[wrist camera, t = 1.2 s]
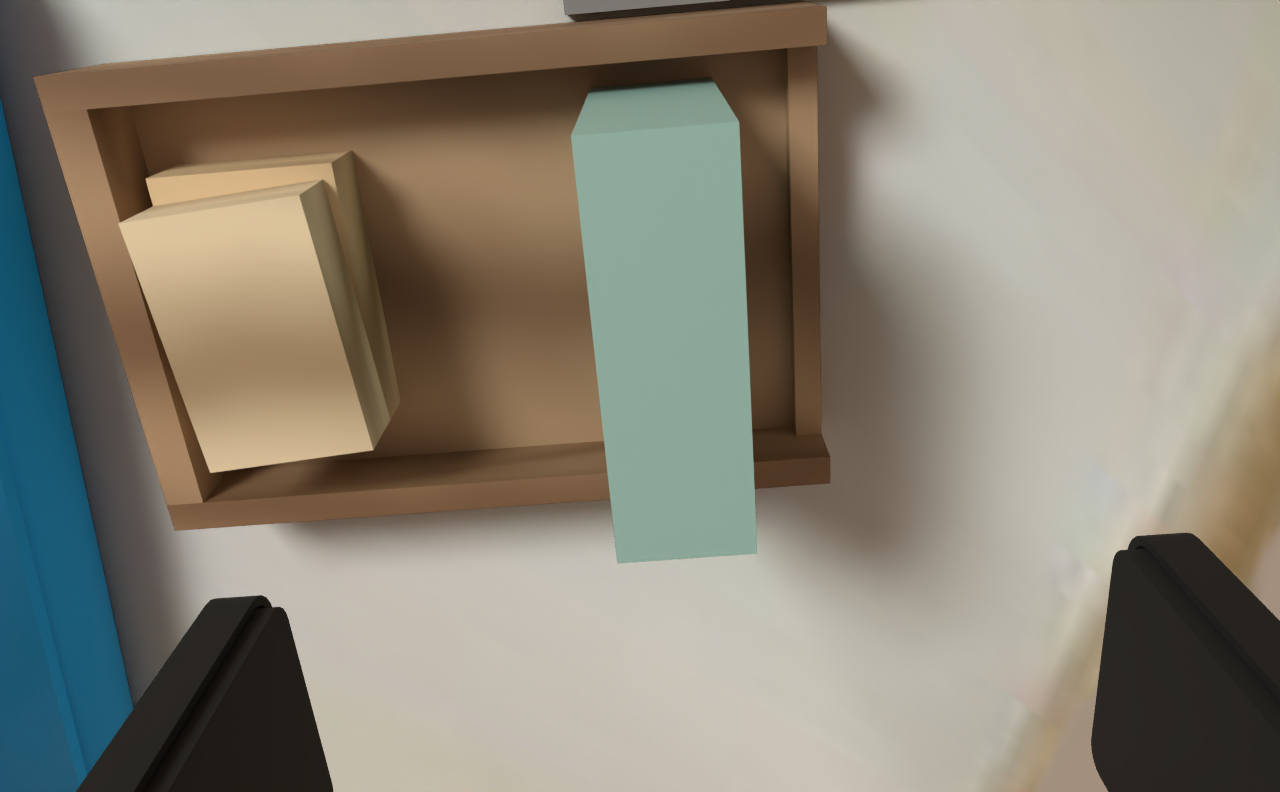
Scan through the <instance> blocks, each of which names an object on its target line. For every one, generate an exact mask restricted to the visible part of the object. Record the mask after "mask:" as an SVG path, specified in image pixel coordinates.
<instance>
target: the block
mask: <svg viewBox="0 0 1280 792" xmlns="http://www.w3.org/2000/svg"><path fill="white" fill-rule="evenodd" d="M571 142H572V151H573V160H574V169H575V178H576V188H577V197H578V206H579V215H580V224H581V234H582V243H583V252H584V261H585V270H586V280H587V289H588V298H589V307H590V316H591V326H592V335H593V344H594V353H595V362H596V372H597V381H598V390H599V399H600V408H601V418H602V427H603V436H604V445H605V455H606V464H607V473H608V482H609V491H610V501H611V510H612V519H613V528H614V537H615V547H616V556H617V563H630V562H644V561H658V560H672V559H687V558H701V557H715V556H729V555H744V554H757V533H756V510H755V486H754V462H753V439H752V415H751V391H750V367H749V344H748V320H747V296H746V273H745V249H744V225H743V202H742V178H741V154H740V130H739V121H738V119H737V117H736V116H735V114H734V113H733V111H732V109H731V108H730V106H729V105H728V103H727V101H726V100H725V98H724V97H723V95H722V93H721V92H720V90H719V89H718V87H717V85H716V84H715V82H714V81H713V79H712V77H711V78H700V79H688V80H677V81H665V82H654V83H642V84H631V85H619V86H608V87H596V88H590V90H589V93H588V95H587V98H586V100H585V103H584V105H583V108H582V110H581V112H580V115H579V117H578V120H577V122H576V125H575V127H574V130H573V132H572V134H571Z"/></svg>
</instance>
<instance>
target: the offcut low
mask: <svg viewBox="0 0 1280 792" xmlns="http://www.w3.org/2000/svg"><path fill="white" fill-rule="evenodd" d="M321 179H323V181H324V185H325V189H326V192H327V196H328V199H329V203H330V206H331V210H332V214H333V217H334V221H335V224H336V228H337V231H338V235H339V239H340V242H341V246H342V249H343V253H344V256H345V260H346V263H347V267H348V271H349V274H350V278H351V281H352V285H353V288H354V292H355V296H356V299H357V303H358V306H359V310H360V313H361V317H362V321H363V324H364V328H365V331H366V335H367V338H368V342H369V346H370V349H371V353H372V356H373V360H374V363H375V367H376V370H377V374H378V378H379V381H380V385H381V388H382V392H383V395H384V399H385V403H386V406H387V410H388V413H389V417H390V420H391V418H392V417H393V415H394V413H395V411H396V409H397V407H398V406H399V404H400V402H401V400H400V395H399V389H398V384H397V379H396V374H395V369H394V364H393V359H392V354H391V349H390V344H389V338H388V333H387V328H386V323H385V318H384V313H383V308H382V303H381V298H380V293H379V287H378V282H377V277H376V272H375V267H374V262H373V257H372V252H371V247H370V242H369V236H368V231H367V226H366V221H365V216H364V211H363V206H362V201H361V196H360V191H359V185H358V180H357V175H356V170H355V165H354V160H353V155H352V150H345V151H333V152H321V153H309V154H298V155H286V156H274V157H263V158H251V159H239V160H227V161H216V162H204V163H192V164H180V165H176V166H174V167H171V168H169V169H167V170H164V171H162V172H160V173H157V174H155V175H153V176H150V177H148V178H146V183H147V186H148V190H149V194H150V197H151V201H152V204H153V206H156V205H162V204H168V203H175V202H181V201H187V200H194V199H200V198H206V197H213V196H219V195H225V194H232V193H238V192H244V191H251V190H257V189H263V188H270V187H276V186H282V185H289V184H295V183H301V182H308V181H314V180H321ZM389 422H390V421H389ZM388 424H389V423H388ZM387 426H388V425H387ZM387 426H386V427H387ZM385 429H386V428H385Z"/></svg>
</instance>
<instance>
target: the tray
mask: <svg viewBox="0 0 1280 792" xmlns="http://www.w3.org/2000/svg"><path fill="white" fill-rule="evenodd" d="M817 45H827V7H826V6H822V5H818V4H813V3H809V2H795V3H783V4H772V5H761V6H750V7H738V8H727V9H716V10H705V11H693V12H682V13H671V14H660V15H649V16H637V17H626V18H615V19H604V20H592V21H581V22H570V23H559V24H547V25H536V26H525V27H514V28H502V29H491V30H480V31H469V32H457V33H446V34H435V35H424V36H412V37H401V38H390V39H379V40H368V41H356V42H345V43H334V44H323V45H311V46H300V47H289V48H278V49H266V50H255V51H244V52H233V53H221V54H210V55H199V56H188V57H176V58H165V59H154V60H143V61H131V62H120V63H109V64H100V65H95V66H90V67H84V68H79V69H73V70H68V71H62V72H57V73H52V74H46V75H41V76H35V77H33V79H34V82H35V85H36V89H37V92H38V95H39V98H40V101H41V105H42V108H43V111H44V114H45V117H46V121H47V124H48V127H49V130H50V133H51V136H52V140H53V143H54V146H55V149H56V152H57V156H58V159H59V162H60V165H61V168H62V172H63V175H64V178H65V181H66V184H67V188H68V191H69V194H70V197H71V200H72V204H73V207H74V210H75V213H76V216H77V220H78V223H79V226H80V229H81V232H82V235H83V239H84V242H85V245H86V248H87V251H88V255H89V258H90V261H91V264H92V267H93V271H94V274H95V277H96V280H97V283H98V287H99V290H100V293H101V296H102V299H103V303H104V306H105V309H106V312H107V315H108V319H109V322H110V325H111V328H112V331H113V334H114V338H115V341H116V344H117V347H118V350H119V354H120V357H121V360H122V363H123V366H124V370H125V373H126V376H127V379H128V382H129V386H130V389H131V392H132V395H133V398H134V402H135V405H136V408H137V411H138V414H139V417H140V421H141V424H142V427H143V430H144V433H145V437H146V440H147V443H148V446H149V449H150V453H151V456H152V459H153V462H154V465H155V469H156V472H157V475H158V478H159V481H160V485H161V488H162V491H163V494H164V497H165V501H166V504H167V507H168V510H169V513H170V516H171V520H172V523H173V526H174V529H175V531H177V530H191V529H205V528H219V527H233V526H246V525H260V524H274V523H288V522H302V521H315V520H329V519H343V518H357V517H371V516H384V515H398V514H412V513H426V512H440V511H453V510H467V509H481V508H495V507H509V506H522V505H536V504H550V503H564V502H578V501H591V500H605V499H610V491H609V482H608V473H607V464H606V455H605V445H604V436H603V427H602V418H601V408H600V399H599V390H598V381H597V372H596V362H595V353H594V344H593V335H592V326H591V316H590V307H589V298H588V289H587V280H586V270H585V261H584V252H583V243H582V234H581V224H580V215H579V206H578V197H577V188H576V178H575V169H574V160H573V151H572V142H571V134H572V132H573V130H574V127H575V125H576V122H577V120H578V117H579V115H580V112H581V110H582V108H583V105H584V103H585V100H586V98H587V95H588V93H589V90H590V88H596V87H608V86H619V85H631V84H642V83H654V82H665V81H677V80H688V79H700V78H711V77H712V79H713V81H714V82H715V84H716V85H717V87H718V89H719V90H720V92H721V93H722V95H723V97H724V98H725V100H726V101H727V103H728V105H729V106H730V108H731V109H732V111H733V113H734V114H735V116H736V117H737V119H738V121H739V130H740V154H741V178H742V202H743V225H744V249H745V273H746V296H747V320H748V344H749V367H750V391H751V415H752V439H753V462H754V486H755V489H757V488H771V487H785V486H798V485H812V484H826V483H830V455H829V453H828V450H827V448H826V445H825V442H824V440H823V437H822V435H821V366H820V278H819V191H818V103H817ZM345 150H352V155H353V160H354V165H355V170H356V175H357V180H358V185H359V191H360V196H361V201H362V206H363V211H364V216H365V221H366V226H367V231H368V236H369V242H370V247H371V252H372V257H373V262H374V267H375V272H376V277H377V282H378V287H379V293H380V298H381V303H382V308H383V313H384V318H385V323H386V328H387V333H388V338H389V344H390V349H391V354H392V359H393V364H394V369H395V374H396V379H397V384H398V389H399V395H400V400H401V402H400V404H399V406H398V407H397V409H396V411H395V413H394V415H393V417H392V418H391V420H390V422H389V424H388V426H387V427H386V429H385V430H384V432H383V434H382V436H381V437H380V439H379V441H378V443H377V445H376V446H375V448H374V450H372V451H364V452H357V453H350V454H343V455H336V456H329V457H321V458H314V459H307V460H300V461H293V462H286V463H279V464H271V465H264V466H257V467H250V468H243V469H236V470H228V471H221V472H214V473H210V471H209V468H208V466H207V463H206V460H205V458H204V455H203V452H202V449H201V447H200V444H199V441H198V439H197V436H196V433H195V430H194V428H193V425H192V422H191V420H190V417H189V414H188V411H187V409H186V406H185V403H184V401H183V398H182V395H181V392H180V390H179V387H178V384H177V382H176V379H175V376H174V374H173V371H172V368H171V365H170V363H169V360H168V357H167V355H166V352H165V349H164V346H163V344H162V341H161V338H160V336H159V333H158V330H157V327H156V325H155V322H154V319H153V317H152V314H151V311H150V308H149V306H148V303H147V300H146V298H145V295H144V292H143V289H142V287H141V284H140V281H139V279H138V276H137V273H136V270H135V268H134V265H133V262H132V260H131V257H130V254H129V252H128V249H127V246H126V243H125V241H124V238H123V235H122V233H121V230H120V227H119V224H118V223H120V222H122V221H124V220H126V219H128V218H130V217H132V216H134V215H136V214H139V213H141V212H143V211H145V210H147V209H149V208H151V207H153V204H152V201H151V197H150V194H149V190H148V186H147V183H146V178H148V177H150V176H153V175H155V174H157V173H160V172H162V171H164V170H167V169H169V168H171V167H174V166H176V165H180V164H192V163H204V162H216V161H227V160H239V159H251V158H263V157H274V156H286V155H298V154H309V153H321V152H333V151H345Z"/></svg>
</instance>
